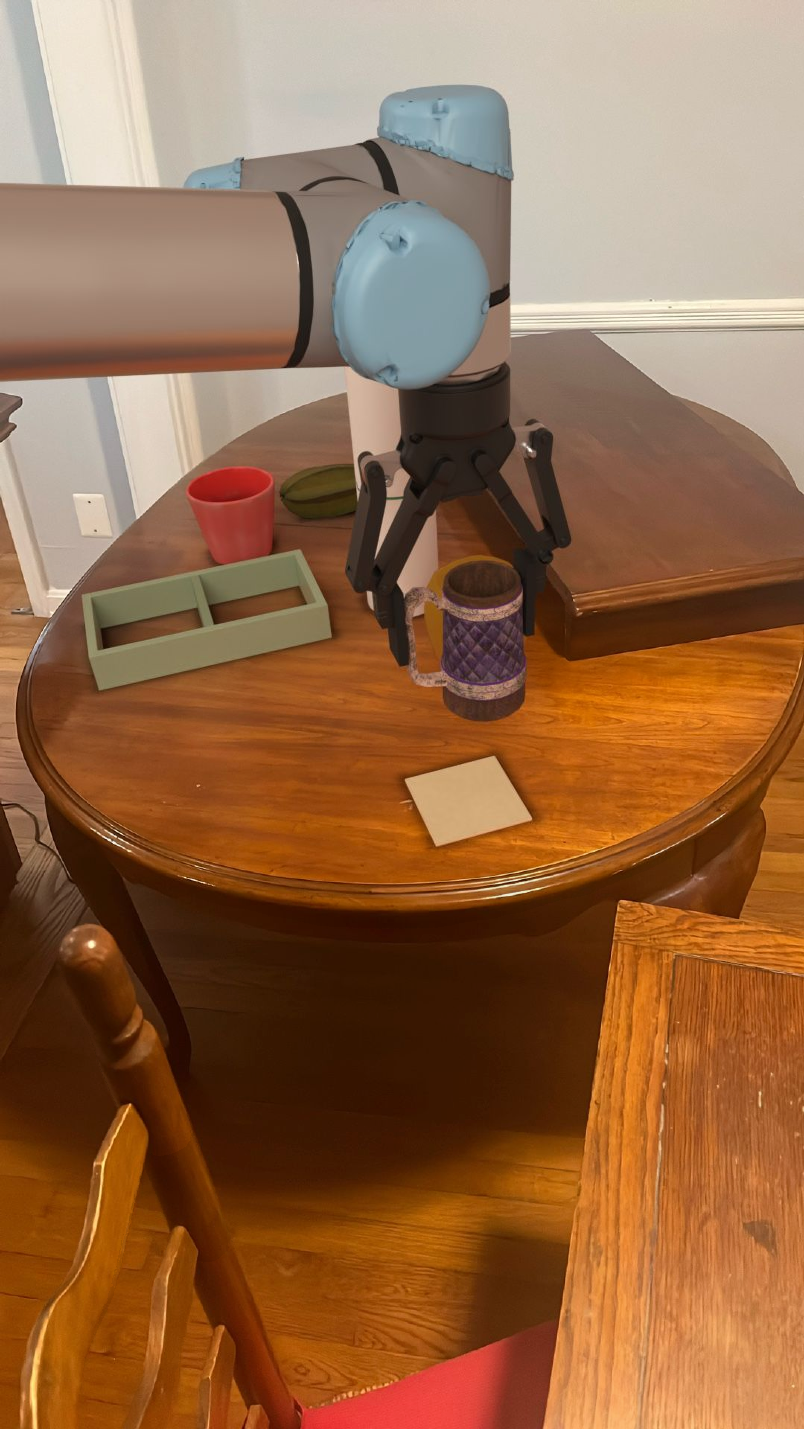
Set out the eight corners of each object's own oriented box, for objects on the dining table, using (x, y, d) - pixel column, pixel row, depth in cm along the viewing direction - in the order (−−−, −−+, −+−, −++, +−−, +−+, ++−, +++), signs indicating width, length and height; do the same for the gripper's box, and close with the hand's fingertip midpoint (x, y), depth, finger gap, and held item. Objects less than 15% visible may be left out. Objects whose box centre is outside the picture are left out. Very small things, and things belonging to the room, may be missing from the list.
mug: (509, 666, 87) (510, 545, 79) (538, 714, 81) (542, 589, 74) (396, 690, 85) (386, 568, 78) (418, 740, 80) (409, 615, 72)
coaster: (436, 847, 86) (435, 844, 86) (404, 781, 93) (404, 778, 93) (532, 821, 88) (532, 818, 88) (494, 758, 95) (494, 755, 94)
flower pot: (223, 529, 135) (210, 461, 128) (297, 537, 131) (287, 468, 125) (185, 568, 127) (169, 498, 121) (263, 578, 124) (250, 507, 118)
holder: (99, 691, 107) (88, 657, 104) (91, 626, 117) (81, 594, 115) (332, 638, 112) (327, 604, 110) (305, 580, 123) (300, 548, 120)
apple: (438, 638, 111) (433, 536, 103) (535, 646, 109) (538, 542, 101) (417, 699, 103) (410, 593, 95) (522, 708, 100) (524, 600, 92)
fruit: (328, 485, 143) (323, 442, 139) (394, 505, 137) (391, 460, 133) (274, 518, 136) (267, 473, 132) (342, 540, 130) (336, 494, 126)
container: (352, 603, 118) (324, 348, 99) (399, 572, 123) (381, 324, 104) (408, 627, 113) (389, 364, 94) (454, 593, 118) (445, 337, 99)
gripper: (584, 320, 71) (571, 589, 84) (275, 373, 66) (314, 648, 80) (634, 353, 65) (611, 635, 79) (300, 413, 60) (338, 701, 74)
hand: (462, 641), depth 79 cm, fingers closed on mug, 10 cm apart
